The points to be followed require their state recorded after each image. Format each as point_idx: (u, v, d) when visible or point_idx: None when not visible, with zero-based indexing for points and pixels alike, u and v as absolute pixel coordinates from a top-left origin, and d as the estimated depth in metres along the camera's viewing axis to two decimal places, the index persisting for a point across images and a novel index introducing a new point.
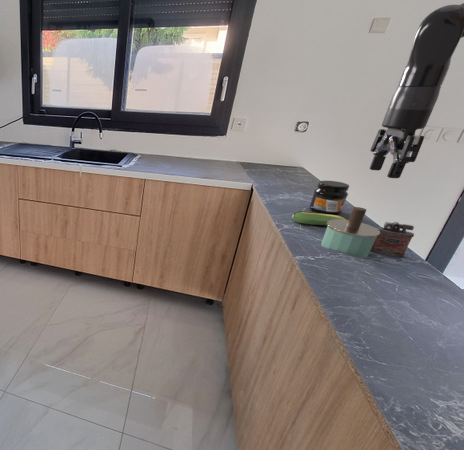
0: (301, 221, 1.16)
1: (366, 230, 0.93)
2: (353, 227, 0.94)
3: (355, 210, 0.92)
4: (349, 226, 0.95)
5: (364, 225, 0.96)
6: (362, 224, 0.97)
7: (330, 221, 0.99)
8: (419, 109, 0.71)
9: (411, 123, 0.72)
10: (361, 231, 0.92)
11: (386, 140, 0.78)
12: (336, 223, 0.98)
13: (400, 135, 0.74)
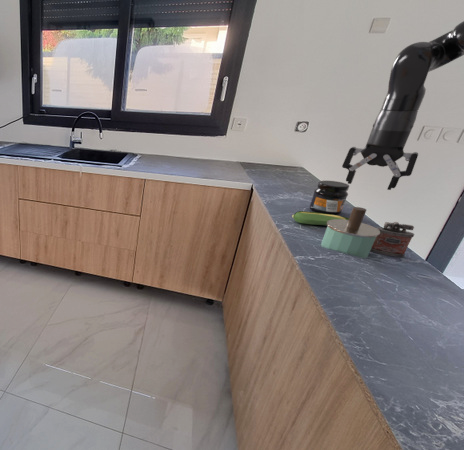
0: (300, 221, 1.16)
1: (366, 230, 0.93)
2: (353, 227, 0.94)
3: (355, 210, 0.92)
4: (349, 226, 0.95)
5: (364, 225, 0.96)
6: (362, 224, 0.97)
7: (330, 221, 0.99)
8: None
9: (405, 142, 0.82)
10: (361, 231, 0.92)
11: (373, 158, 0.86)
12: (336, 223, 0.98)
13: (396, 153, 0.83)
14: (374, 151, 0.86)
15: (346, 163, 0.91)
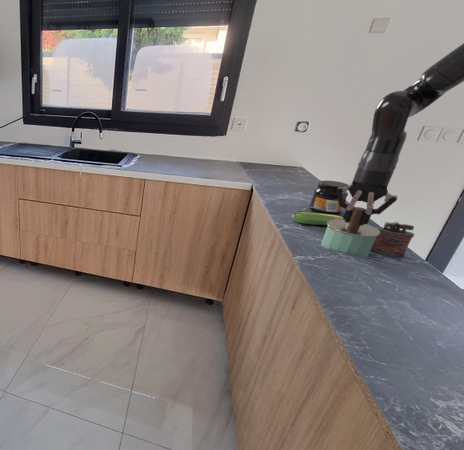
0: (300, 221, 1.16)
1: (366, 230, 0.93)
2: (353, 227, 0.94)
3: (355, 210, 0.92)
4: (349, 226, 0.95)
5: (364, 225, 0.96)
6: None
7: (330, 221, 0.99)
8: (393, 170, 0.85)
9: (389, 181, 0.86)
10: (361, 231, 0.92)
11: (361, 194, 0.90)
12: (336, 223, 0.98)
13: (380, 191, 0.87)
14: (360, 188, 0.90)
15: (341, 202, 0.94)
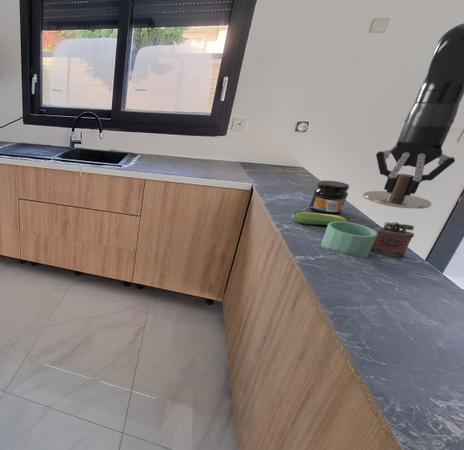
0: (300, 221, 1.16)
1: (413, 201, 0.78)
2: (397, 198, 0.79)
3: (400, 177, 0.78)
4: (392, 197, 0.80)
5: (410, 196, 0.81)
6: None
7: (367, 192, 0.85)
8: None
9: (444, 139, 0.71)
10: (408, 202, 0.77)
11: (408, 157, 0.75)
12: (375, 195, 0.83)
13: (433, 151, 0.72)
14: (407, 150, 0.76)
15: (383, 169, 0.79)
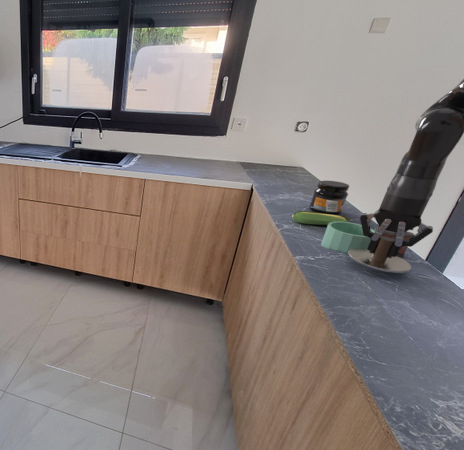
0: (300, 221, 1.16)
1: (394, 263, 0.81)
2: (379, 259, 0.82)
3: (382, 240, 0.81)
4: (374, 258, 0.83)
5: None
6: None
7: (351, 250, 0.88)
8: (429, 198, 0.74)
9: (423, 210, 0.75)
10: (389, 265, 0.81)
11: (390, 223, 0.79)
12: (359, 253, 0.86)
13: (413, 220, 0.76)
14: (388, 216, 0.79)
15: (366, 231, 0.83)
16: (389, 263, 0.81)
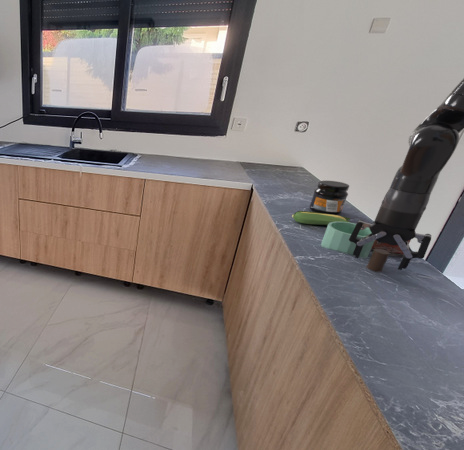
0: (300, 221, 1.16)
1: None
2: None
3: (376, 253, 0.83)
4: None
5: None
6: None
7: None
8: (423, 211, 0.75)
9: (417, 223, 0.76)
10: None
11: None
12: None
13: (407, 233, 0.77)
14: (383, 229, 0.80)
15: (353, 237, 0.85)
16: None
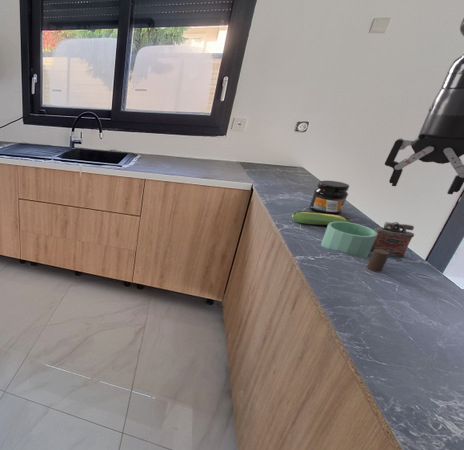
0: (300, 221, 1.16)
1: None
2: None
3: (376, 253, 0.83)
4: None
5: None
6: None
7: None
8: None
9: None
10: None
11: (429, 152, 0.66)
12: None
13: (462, 145, 0.62)
14: (430, 143, 0.66)
15: (390, 160, 0.71)
16: None
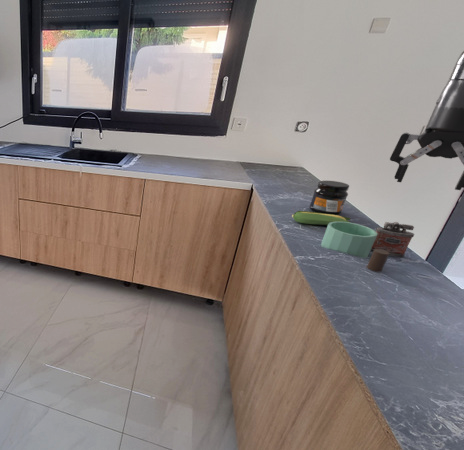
0: (300, 221, 1.16)
1: None
2: None
3: (376, 253, 0.83)
4: None
5: None
6: None
7: None
8: None
9: None
10: None
11: (437, 146, 0.63)
12: None
13: None
14: (438, 137, 0.63)
15: (396, 155, 0.68)
16: None
